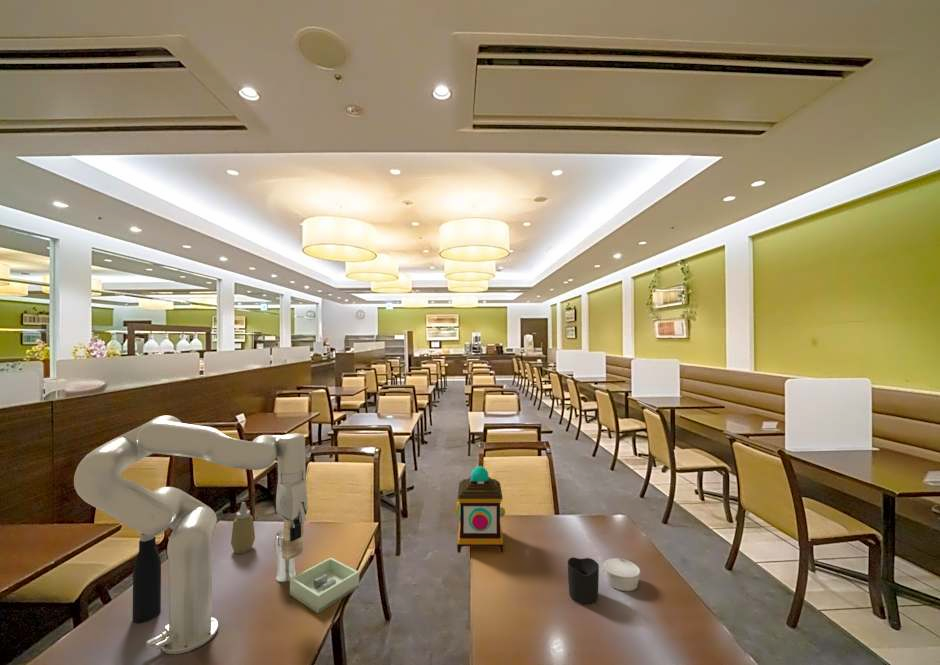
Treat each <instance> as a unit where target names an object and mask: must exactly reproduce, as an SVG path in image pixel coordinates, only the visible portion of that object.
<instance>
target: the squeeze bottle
mask: <svg viewBox="0 0 940 665" xmlns="http://www.w3.org/2000/svg"><path fill="white" fill-rule="evenodd" d="M235 515H236V516H235V517H236V518H234V520H233V523H232V531H231V538H230V539H231V540H230V544H231V547H232V550H233V552H234V553H235V554H245V553H247V552H250V550H252V548H253V545H254V543H255V541H256V540H255V539H256V535H255V532H256V531H255V526H254V525H255V524H254V517H253V516H252V515H251V510H250V509H247V504H246V502H245V501H243V502H241V504H240V509H239V511H237V512H236V514H235Z"/></svg>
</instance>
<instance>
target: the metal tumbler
mask: <svg viewBox="0 0 940 665" xmlns="http://www.w3.org/2000/svg"><path fill="white" fill-rule="evenodd" d="M283 532H284V528H283V529H280V530H278V531H276V533H275V538H274V539H275V541H274V555H275V559H276V566H277V571H276V578H275V580H276V582H279V583H285V582H290V578H292V577H294V576H296V575H297V574H296V573H297V572H296V568H295V565H296V564H295V562H296V557H294V558H291V559H289V560H285V559H283V558H282V552H283Z"/></svg>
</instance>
